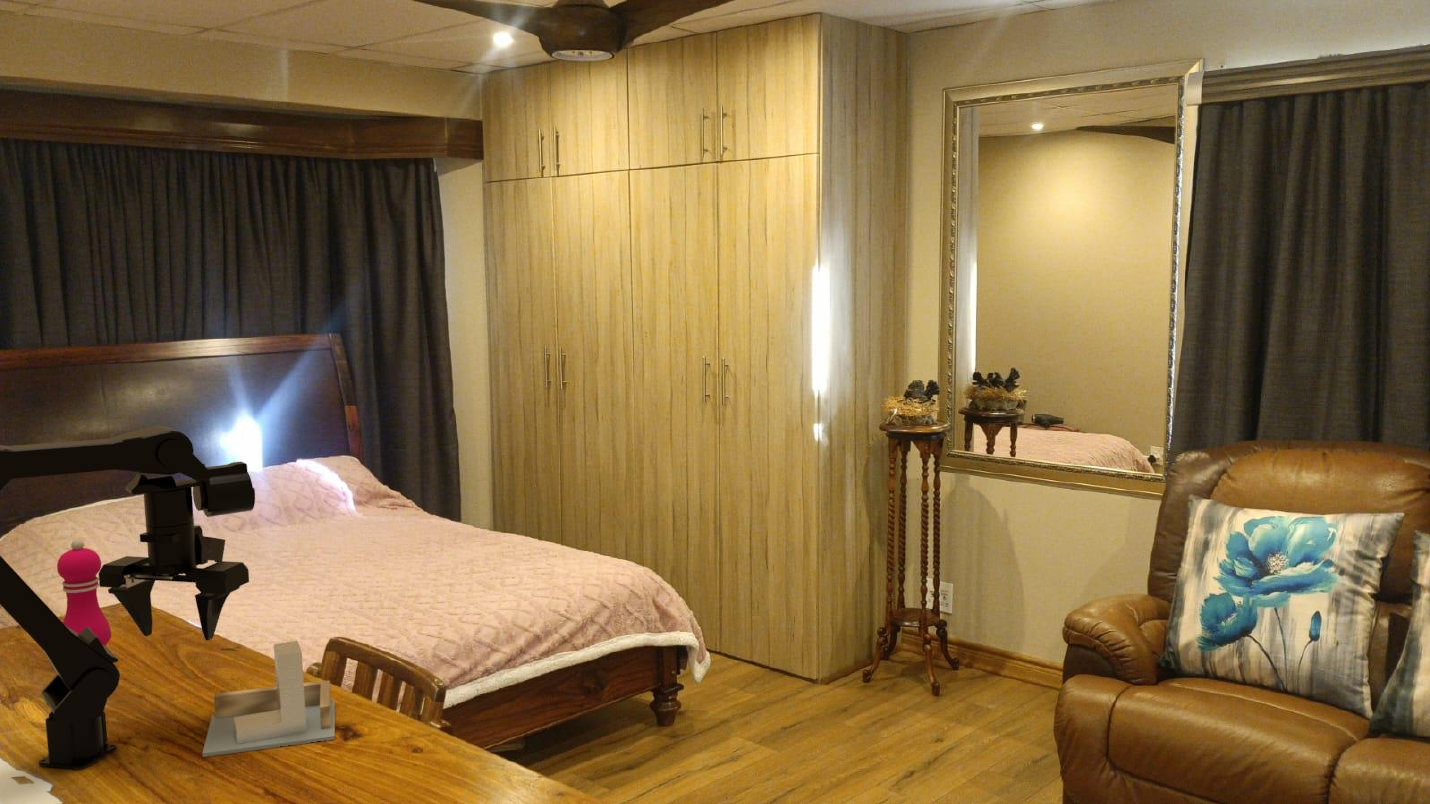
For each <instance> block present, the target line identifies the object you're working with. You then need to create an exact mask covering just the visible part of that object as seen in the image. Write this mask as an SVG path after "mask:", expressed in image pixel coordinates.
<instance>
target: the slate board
mask: <svg viewBox="0 0 1430 804" xmlns="http://www.w3.org/2000/svg"><path fill="white" fill-rule="evenodd" d="M335 707H336V701H335V700H334V699H331V728H325V729H321V717H320V705H315V706H307V707H305V715H306V732H304V733H298V734H293V735H287V736H282V737H276V738H271V739H265V740H259V741H254V742H248V743H243V744H237V740H236V734H235V726H234V717H239V716H245V715H251V714H257V713H250V714H242V715H234V716H226V717H218V718H215V714H212V715H211V718H210V723H209V726H208V730H207V734H206V738H205V741H204V746H203V750H202V753H201V755H202V758H205V757H206V758H207V757H213V756H222V755H228V754H236V753H244V752H245V753H246V752H251V751H253V752H254V751H259V750H265V749H274V748H281V747H280V746H283V747H288V745H291V746H297V745H305V744H312V743H311V742H313V743H318V742H317V741H321V742H327V741H334V740H335V739H336V737H335V736H336V735H335V734H336V731H335V730H336V729H335V728H336V724H335V722H336V721H335V720H336V715H335V714H336V708H335ZM267 712H269V711H267ZM258 713H263V712H258ZM325 740H326V741H325Z"/></svg>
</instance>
